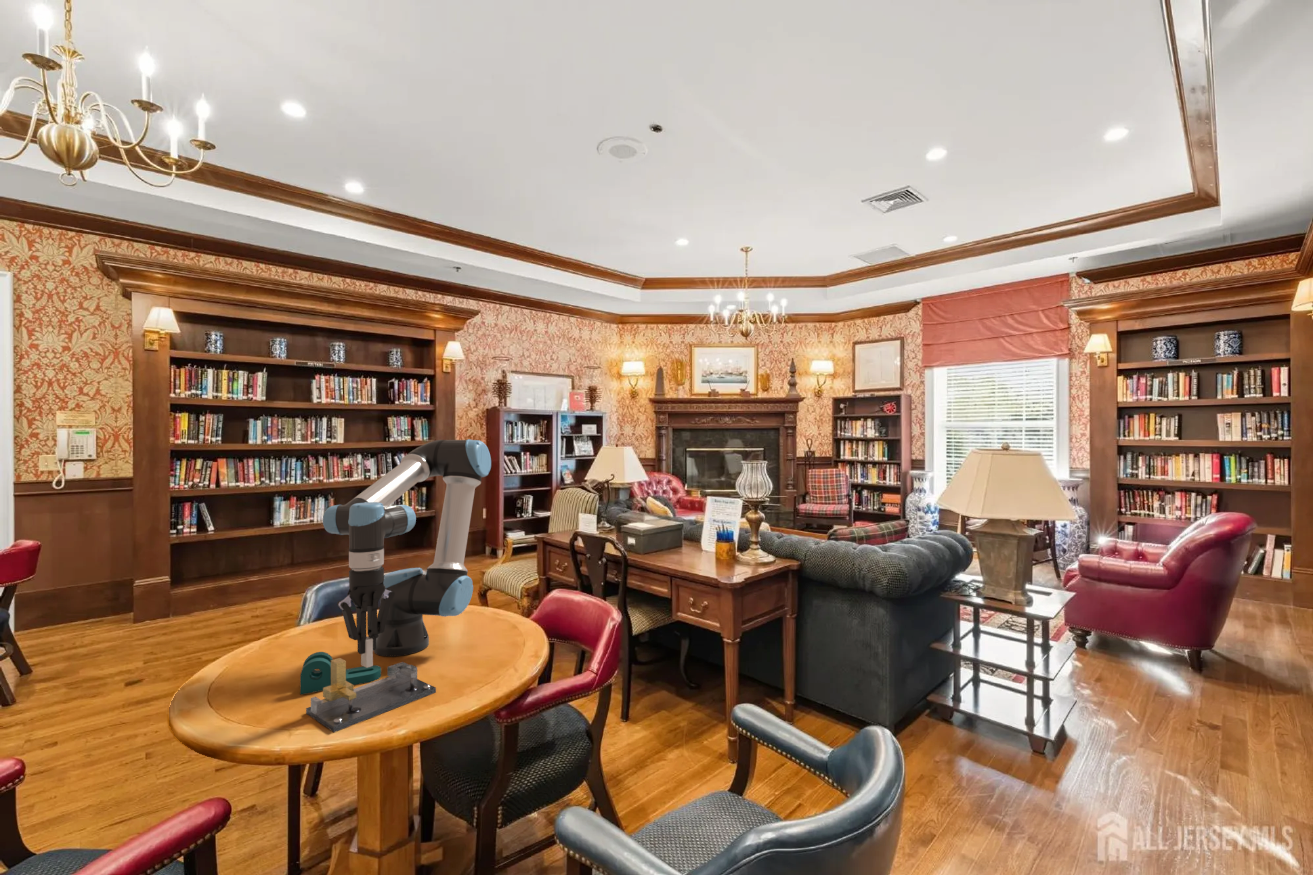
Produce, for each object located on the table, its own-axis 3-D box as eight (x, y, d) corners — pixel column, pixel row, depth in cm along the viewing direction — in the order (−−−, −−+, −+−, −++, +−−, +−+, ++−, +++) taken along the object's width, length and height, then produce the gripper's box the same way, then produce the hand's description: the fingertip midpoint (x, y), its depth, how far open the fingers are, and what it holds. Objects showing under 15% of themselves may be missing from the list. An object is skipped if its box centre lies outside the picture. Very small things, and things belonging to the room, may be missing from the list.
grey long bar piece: (309, 710, 129) (309, 692, 129) (409, 675, 148) (409, 659, 148) (327, 722, 124) (327, 703, 124) (429, 684, 143) (429, 667, 143)
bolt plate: (306, 713, 131) (306, 705, 131) (405, 678, 150) (405, 671, 150) (333, 732, 122) (333, 723, 122) (435, 692, 141) (435, 685, 141)
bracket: (300, 695, 140) (300, 663, 140) (303, 684, 146) (303, 654, 146) (381, 681, 148) (381, 650, 148) (380, 671, 154) (380, 642, 155)
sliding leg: (323, 704, 132) (323, 661, 132) (345, 696, 136) (345, 655, 136) (341, 715, 126) (341, 671, 126) (363, 707, 130) (363, 664, 130)
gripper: (345, 574, 129) (346, 678, 129) (400, 564, 140) (401, 660, 140) (330, 570, 134) (331, 670, 134) (385, 560, 144) (385, 653, 144)
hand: (367, 665), depth 137 cm, fingers closed
